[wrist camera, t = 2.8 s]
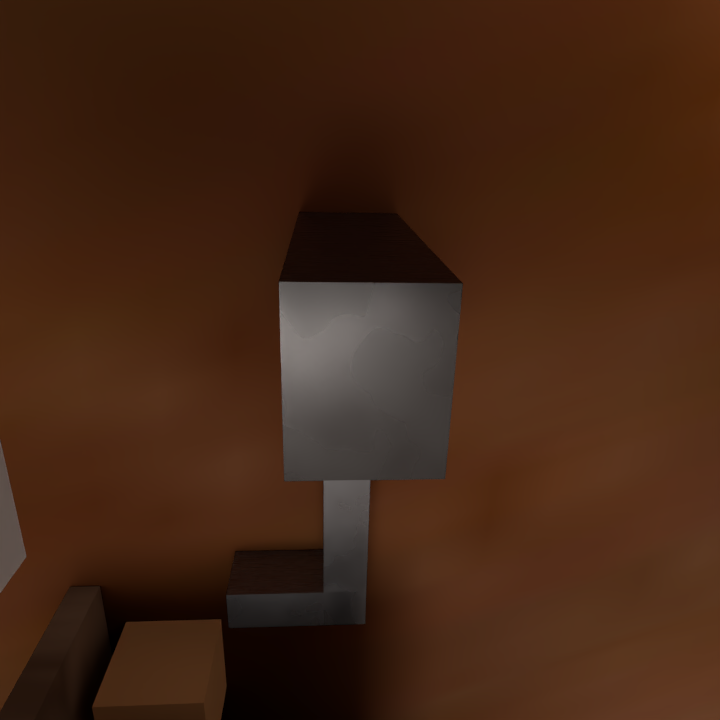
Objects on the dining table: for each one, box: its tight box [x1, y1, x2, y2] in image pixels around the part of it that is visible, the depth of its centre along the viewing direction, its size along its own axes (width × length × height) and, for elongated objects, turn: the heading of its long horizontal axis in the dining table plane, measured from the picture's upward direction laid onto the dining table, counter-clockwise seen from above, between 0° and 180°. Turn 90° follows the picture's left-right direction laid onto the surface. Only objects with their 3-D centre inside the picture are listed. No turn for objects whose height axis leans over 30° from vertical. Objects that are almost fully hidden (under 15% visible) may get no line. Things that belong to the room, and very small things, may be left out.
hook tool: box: [226, 212, 463, 628], centre depth 21 cm, size 19×8×12 cm, turn 179°
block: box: [92, 619, 227, 720], centre depth 30 cm, size 5×5×5 cm
